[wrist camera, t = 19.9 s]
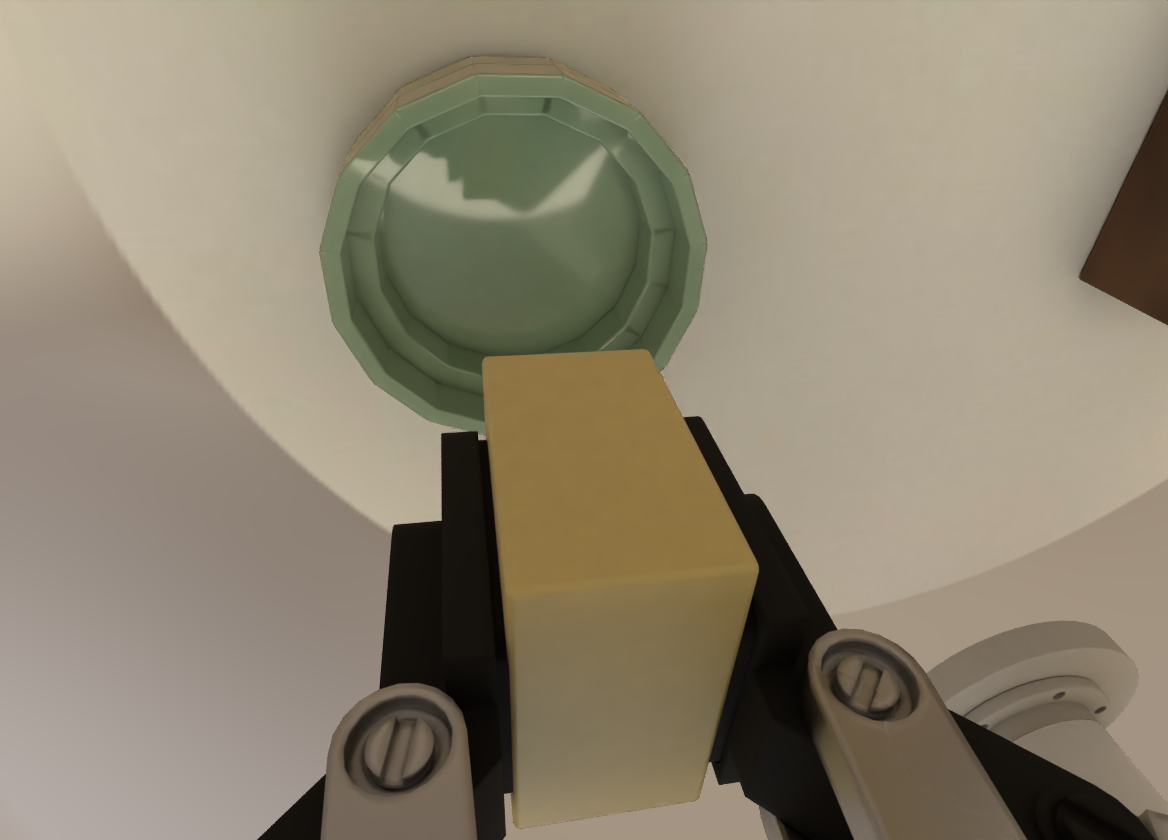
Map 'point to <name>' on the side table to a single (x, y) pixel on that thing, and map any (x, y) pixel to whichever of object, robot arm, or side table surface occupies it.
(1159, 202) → the chopping block
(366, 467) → the side table surface
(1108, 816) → the robot arm
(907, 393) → the side table surface
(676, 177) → the dish
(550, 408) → the butter slice
